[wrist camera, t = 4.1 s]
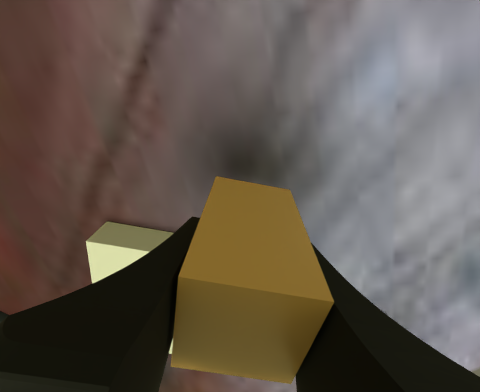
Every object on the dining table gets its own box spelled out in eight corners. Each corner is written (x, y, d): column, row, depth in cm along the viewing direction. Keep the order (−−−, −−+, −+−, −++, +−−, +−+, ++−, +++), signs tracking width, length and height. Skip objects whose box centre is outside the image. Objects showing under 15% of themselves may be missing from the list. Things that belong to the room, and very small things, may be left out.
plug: (289, 189, 12) (334, 302, 6) (272, 248, 14) (291, 383, 7) (216, 176, 12) (178, 276, 6) (207, 237, 14) (170, 366, 7)
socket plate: (293, 253, 22) (301, 282, 19) (262, 340, 28) (263, 373, 25) (106, 221, 21) (81, 245, 18) (116, 318, 27) (98, 349, 24)
